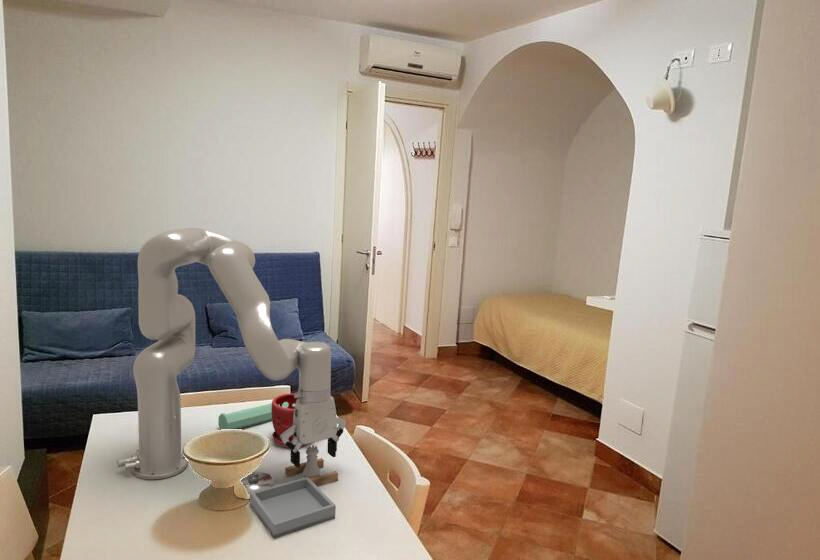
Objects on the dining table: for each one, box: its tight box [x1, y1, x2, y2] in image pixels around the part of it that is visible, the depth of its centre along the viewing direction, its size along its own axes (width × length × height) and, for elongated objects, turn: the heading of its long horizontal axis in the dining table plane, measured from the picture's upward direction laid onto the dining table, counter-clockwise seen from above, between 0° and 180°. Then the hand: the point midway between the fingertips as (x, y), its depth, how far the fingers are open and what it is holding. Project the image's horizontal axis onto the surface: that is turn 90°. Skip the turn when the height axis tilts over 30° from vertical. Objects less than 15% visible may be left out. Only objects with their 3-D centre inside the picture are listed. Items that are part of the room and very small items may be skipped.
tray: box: [249, 477, 336, 539], centre depth 122 cm, size 14×14×3 cm
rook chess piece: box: [301, 445, 321, 478], centre depth 136 cm, size 4×4×8 cm
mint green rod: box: [217, 402, 296, 431], centre depth 167 cm, size 6×6×25 cm
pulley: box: [241, 471, 274, 494], centre depth 130 cm, size 9×9×3 cm
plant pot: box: [271, 392, 307, 448], centre depth 155 cm, size 13×13×12 cm
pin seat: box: [284, 457, 339, 488], centre depth 136 cm, size 10×9×2 cm
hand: (314, 459), depth 136 cm, fingers open, 9 cm apart
